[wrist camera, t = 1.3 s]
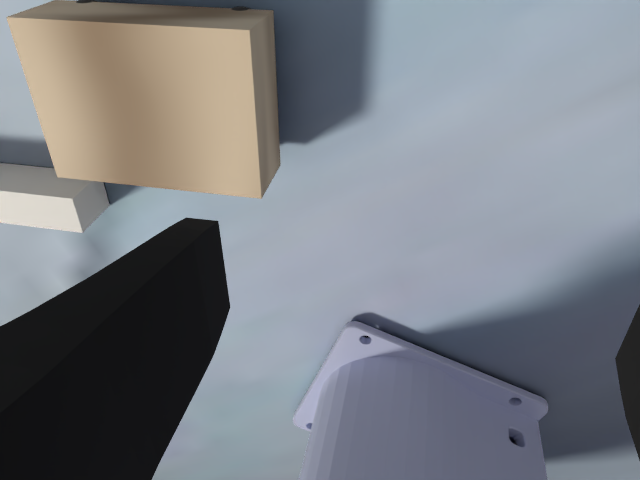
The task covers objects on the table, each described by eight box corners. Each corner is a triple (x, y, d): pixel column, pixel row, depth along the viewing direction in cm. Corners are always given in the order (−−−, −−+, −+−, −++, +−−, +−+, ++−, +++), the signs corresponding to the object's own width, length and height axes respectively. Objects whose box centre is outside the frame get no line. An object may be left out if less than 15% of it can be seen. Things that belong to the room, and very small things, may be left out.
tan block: (280, 3, 16) (249, 27, 14) (286, 156, 19) (261, 200, 17) (69, -7, 17) (5, 15, 15) (105, 140, 20) (57, 178, 18)
